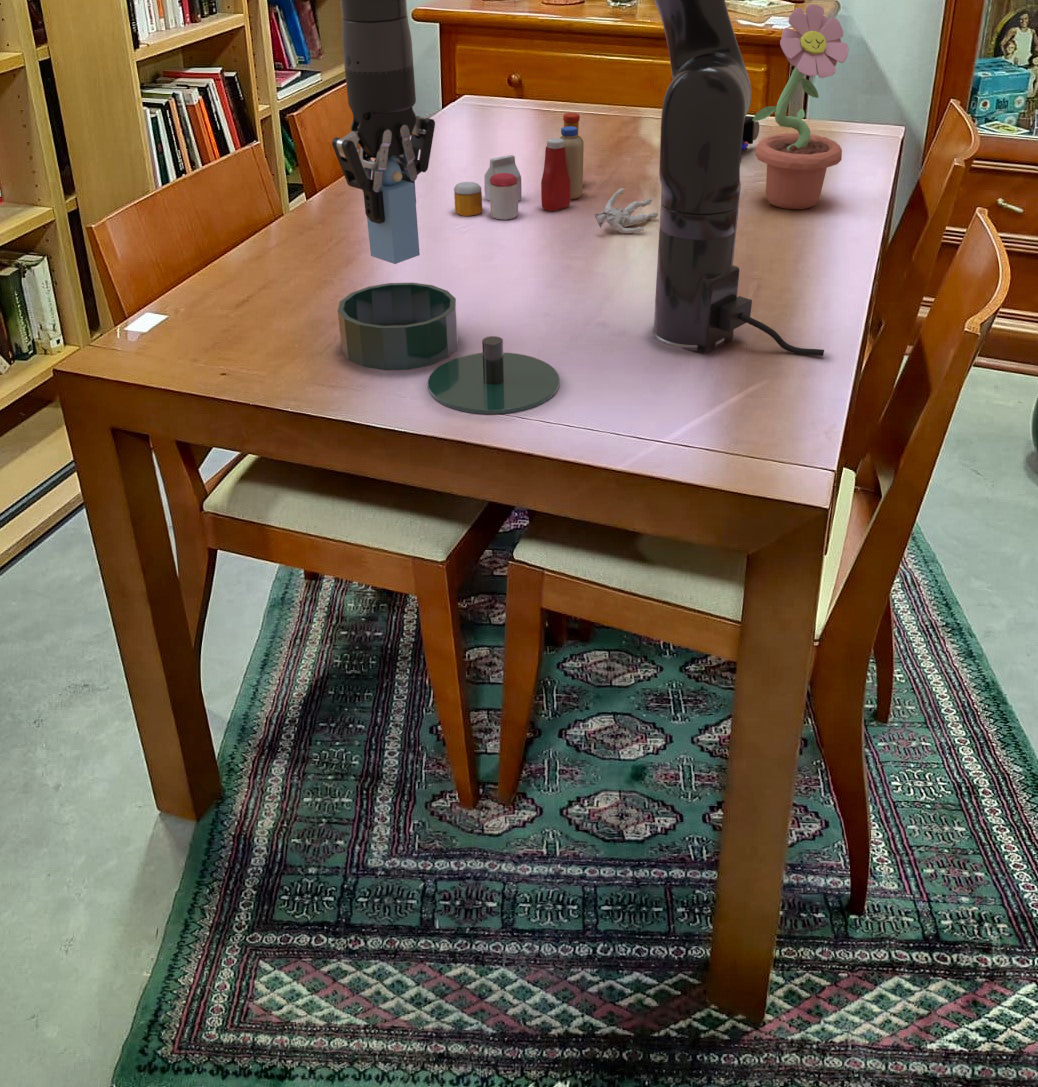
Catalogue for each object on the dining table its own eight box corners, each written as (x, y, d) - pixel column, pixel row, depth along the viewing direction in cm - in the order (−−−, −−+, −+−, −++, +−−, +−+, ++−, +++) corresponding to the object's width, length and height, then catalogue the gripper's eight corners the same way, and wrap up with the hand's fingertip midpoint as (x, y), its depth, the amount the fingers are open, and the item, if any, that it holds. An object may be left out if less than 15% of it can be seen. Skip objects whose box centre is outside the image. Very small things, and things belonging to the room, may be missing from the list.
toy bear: (419, 255, 135) (412, 155, 129) (395, 264, 133) (386, 163, 126) (395, 247, 138) (386, 148, 131) (370, 256, 136) (360, 156, 129)
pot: (481, 347, 142) (479, 302, 139) (395, 385, 134) (391, 338, 130) (405, 317, 151) (402, 274, 147) (320, 351, 142) (314, 306, 139)
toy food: (571, 179, 201) (571, 109, 194) (615, 197, 192) (618, 124, 185) (443, 208, 189) (439, 134, 182) (484, 228, 180) (481, 151, 173)
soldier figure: (667, 230, 181) (628, 226, 172) (644, 246, 184) (605, 243, 174) (646, 188, 182) (607, 181, 172) (624, 205, 185) (584, 200, 175)
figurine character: (724, 152, 219) (695, 162, 208) (730, 110, 216) (700, 118, 204) (757, 156, 216) (729, 167, 205) (763, 114, 213) (735, 123, 201)
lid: (586, 385, 133) (587, 337, 130) (494, 432, 124) (493, 382, 120) (493, 349, 142) (491, 303, 138) (401, 390, 133) (397, 342, 129)
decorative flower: (767, 220, 181) (790, 17, 164) (730, 195, 192) (747, 2, 175) (850, 211, 184) (881, 11, 167) (809, 187, 195) (834, -4, 178)
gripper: (350, 77, 117) (366, 239, 126) (449, 55, 125) (457, 208, 135) (305, 68, 121) (324, 225, 131) (404, 47, 130) (415, 196, 139)
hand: (392, 216), depth 133 cm, fingers closed on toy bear, 4 cm apart
